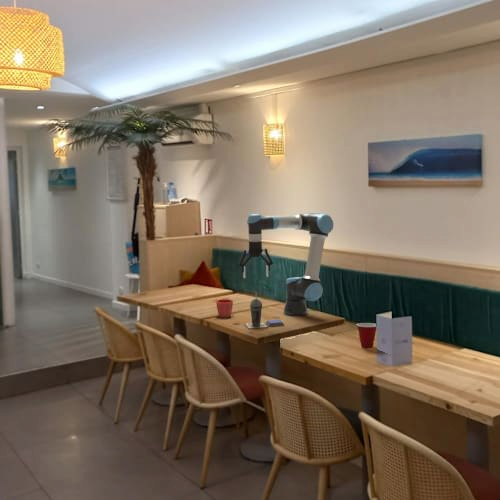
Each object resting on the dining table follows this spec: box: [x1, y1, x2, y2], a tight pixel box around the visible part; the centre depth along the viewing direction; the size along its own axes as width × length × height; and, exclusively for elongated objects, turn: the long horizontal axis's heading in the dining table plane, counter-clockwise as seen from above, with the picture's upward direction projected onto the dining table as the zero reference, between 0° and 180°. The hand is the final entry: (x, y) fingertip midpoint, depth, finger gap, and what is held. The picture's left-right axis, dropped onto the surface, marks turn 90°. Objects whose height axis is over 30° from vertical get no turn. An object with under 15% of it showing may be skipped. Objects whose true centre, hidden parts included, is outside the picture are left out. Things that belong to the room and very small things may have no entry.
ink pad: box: [265, 319, 285, 328], centre depth 373 cm, size 9×9×2 cm
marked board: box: [244, 322, 270, 330], centre depth 370 cm, size 12×12×1 cm
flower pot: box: [215, 299, 234, 318], centre depth 398 cm, size 11×11×10 cm
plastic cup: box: [356, 322, 377, 349], centre depth 322 cm, size 11×11×12 cm
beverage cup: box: [249, 291, 263, 326], centre depth 369 cm, size 7×7×20 cm
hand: (255, 277), depth 367 cm, fingers open, 13 cm apart
